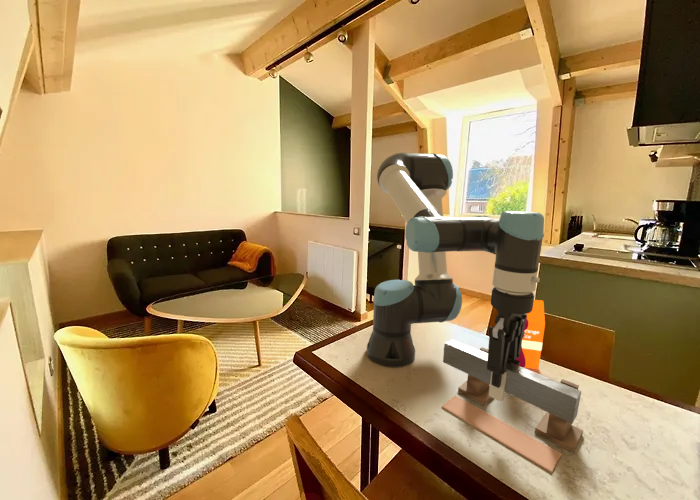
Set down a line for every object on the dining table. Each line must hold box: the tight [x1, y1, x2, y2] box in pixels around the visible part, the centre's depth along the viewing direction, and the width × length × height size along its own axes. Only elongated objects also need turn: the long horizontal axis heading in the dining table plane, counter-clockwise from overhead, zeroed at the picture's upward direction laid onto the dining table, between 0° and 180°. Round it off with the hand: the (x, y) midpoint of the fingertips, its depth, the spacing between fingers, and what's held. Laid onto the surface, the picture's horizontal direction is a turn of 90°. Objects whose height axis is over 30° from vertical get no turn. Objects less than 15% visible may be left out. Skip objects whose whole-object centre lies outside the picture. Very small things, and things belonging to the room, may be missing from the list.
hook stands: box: [457, 347, 584, 454], centre depth 72 cm, size 25×7×11 cm, turn 42°
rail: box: [442, 338, 582, 424], centre depth 65 cm, size 26×3×5 cm, turn 42°
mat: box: [441, 395, 562, 474], centre depth 67 cm, size 23×6×1 cm, turn 42°
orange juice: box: [522, 299, 546, 370], centre depth 93 cm, size 8×9×20 cm
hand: (499, 394), depth 66 cm, fingers closed on rail, 3 cm apart
